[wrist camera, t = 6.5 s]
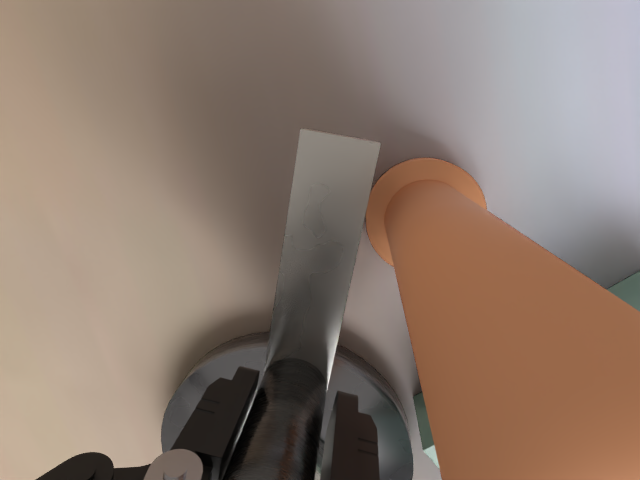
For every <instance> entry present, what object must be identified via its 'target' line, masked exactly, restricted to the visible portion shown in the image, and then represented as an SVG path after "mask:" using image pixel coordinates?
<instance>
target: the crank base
mask: <svg viewBox="0 0 640 480" xmlns="http://www.w3.org/2000/svg"><path fill="white" fill-rule="evenodd" d="M269 335H270V332H264V333H257V334H250V335H246V336H243V337H239V338H236V339H233V340H231V341H229V342H226V343H224V344H222V345H220V346H218V347H217V348H215V349H213V350H212V351H210V352H209V353H208V354H206V355H205V356H204V357H203V358H202V359H201V360H199V361H198V363H197V364H196V365H195V366H194V367H193V368H192V369H191V371H190V372H189V373H188V375H187V376H186V378H185V379H184V381H183V382H182V383H181V385H180V386H179V388H178V389H177V390H176V392H175V394H174V395H173V397H172V398H171V400H170V402H169V404H168V406H167V409H166V411H165V414H164V418H163V423H162V431H161V443H162V451H163V453H165V452H167V451H170V449H171V448H172V446H173V445H174V443H175V441H176V440H177V438H178V436H179V435H180V433H181V431H182V429H183V428H184V426H185V424H186V423H187V421H188V419H189V418H190V416H191V414H192V413H193V411H194V410H195V408H196V406H197V404H198V403H199V401H200V400H201V398H202V396H203V394H204V392H205V391H206V389H207V387H208V386H209V385H210V384H212V383H213V382H214V381H216V380H217V379H219V378H220V377H221V378H225V379H229V380H232V378H233V377H234V375H235V373H236V371H237V369H238V367H239V366H242V367H246V368H250V369H254V370H258V371H260V374H259V380H258V385H257V391H258V389H259V386H260V384H261V381H262V379H263V375H264V368H265V361H266V355H267V348H268V341H269ZM257 391H256V394H257ZM337 391H342V392H346V393H350V394H354V395H358V412H360V413H364V414H368V415H371V417H372V419H373V421H374V423H375V425H376V427H377V434H378V457H379V474H380V480H412V476H413V455H412V449H411V442H410V435H409V429H408V424H407V419H406V416H405V413H404V410H403V408H402V405H401V403H400V401H399V399H398V398H397V396H396V394H395V392H394V391H393V389H392V388H391V387H390V385H389V384H388V383H387V381H386V380H385V379H384V378H383V377H382V376H381V375H380V374H379V373H378V372H377V371H376V370H375V369H374V368H373V367H372V366H371V365H369V364H368V363H367V362H366V361H364V360H363V359H362V358H360V357H359V356H357V355H355V354H354V353H352V352H351V351H349V350H347V349H345V348H343V347H341V346H339V345H337V347H336V352H335V356H334V361H333V365H332V370H331V374H330V379H329V384H328V388H327V393H326V400H325V407H324V414H323V422H322V429H321V436H320V441H321V442H322V443H323V444H324V443H325V437H326V431H327V427H328V423H329V419H330V415H331V412H332V408H333V404H334V400H335V397H336V393H337Z"/></svg>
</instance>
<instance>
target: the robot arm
mask: <svg viewBox="0 0 640 480" xmlns="http://www.w3.org/2000/svg"><path fill="white" fill-rule="evenodd" d="M259 374H260V371H258V370H254V369H250V368H246V367H242V366H239V367H238V369H237V371H236V373H235V375H234V377H233V378H232V380H229V379H225V378H221V377H220V378H219V379H217V380H216V381H214V382H213V383H212V384H210V385H209V386H208V387H207V389H206V391H205V392H204V394H203V396H202V398H201V400H200V401H199V403H198V404H197V406H196V408H195V410H194V411H193V413H192V414H191V416H190V418H189V419H188V421H187V423H186V424H185V426H184V428H183V429H182V431H181V433H180V435H179V436H178V438H177V440H176V441H175V443H174V445H173V446H172V448H171V449H170V451H167V452H165V453H163V454H161V455H160V456H158V457H157V458H156V459H155V460H154V461H153V462H152V463H151V464H149V465H145V466H141V467H129V468H114V466H113V463H112V461H111V459H110V458H109V457H108V456H106V455H104V454H101V453H96V452H89V453H83V454H79V455H76V456H74V457H72V458H70V459H68V460H66V461H65V462H63V463H62V464H60V465H58V466H57V467H55V468H54V469H52V470H50V471H49V472H47V473H45V474H44V475H42V476H41V477H39V478H37V479H36V480H222V479H223V476H224V474H225V471H226V469H227V466H228V464H229V461H230V459H231V456H232V454H233V451H234V449H235V446H236V444H237V441H238V439H239V436H240V434H241V431H242V429H243V426H244V424H245V421H246V419H247V416H248V414H249V411H250V409H251V406H252V404H253V401H254V399H255V396H256V391H257V385H258V380H259ZM320 480H380V474H379V457H378V434H377V427H376V425H375V423H374V421H373V419H372V417H371V415H368V414H364V413H360V412H358V395H354V394H350V393H346V392H342V391H337V393H336V397H335V400H334V404H333V408H332V412H331V415H330V419H329V423H328V427H327V431H326V437H325V443H324V451H323V459H322V468H321V476H320Z"/></svg>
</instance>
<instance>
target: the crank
mask: <svg viewBox="0 0 640 480" xmlns="http://www.w3.org/2000/svg"><path fill="white" fill-rule="evenodd" d="M380 146H381V143H379V142H377V141H371V140H366V139H361V138H355V137H350V136H344V135H339V134H333V133H328V132H323V131H317V130H312V129H300V135H299V142H298V148H297V155H296V162H295V168H294V175H293V182H292V188H291V195H290V202H289V208H288V215H287V222H286V228H285V235H284V242H283V248H282V255H281V262H280V268H279V275H278V282H277V288H276V295H275V302H274V308H273V315H272V321H271V328H270V335H269V341H268V348H267V355H266V361H265V368H264V375H263V379H262V381H261V384H260V386H259V389H258V391H257V394H256V396H255V399H254V401H253V404H252V406H251V409H250V411H249V414H248V416H247V419H246V421H245V424H244V426H243V429H242V431H241V434H240V436H239V439H238V441H237V444H236V446H235V449H234V451H233V454H232V456H231V459H230V461H229V464H228V466H227V469H226V471H225V474H224V476H223V479H222V480H320V476H321V468H322V459H323V451H324V444H323V443H322V442H321V441H320V436H321V429H322V422H323V414H324V407H325V400H326V393H327V388H328V384H329V379H330V374H331V370H332V365H333V361H334V356H335V352H336V347H337V342H338V338H339V333H340V329H341V324H342V320H343V315H344V310H345V306H346V301H347V297H348V292H349V288H350V283H351V278H352V274H353V269H354V265H355V260H356V255H357V251H358V246H359V242H360V237H361V233H362V228H363V223H364V219H365V214H366V210H367V205H368V201H369V196H370V191H371V187H372V182H373V178H374V173H375V169H376V164H377V159H378V155H379V150H380Z"/></svg>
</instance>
